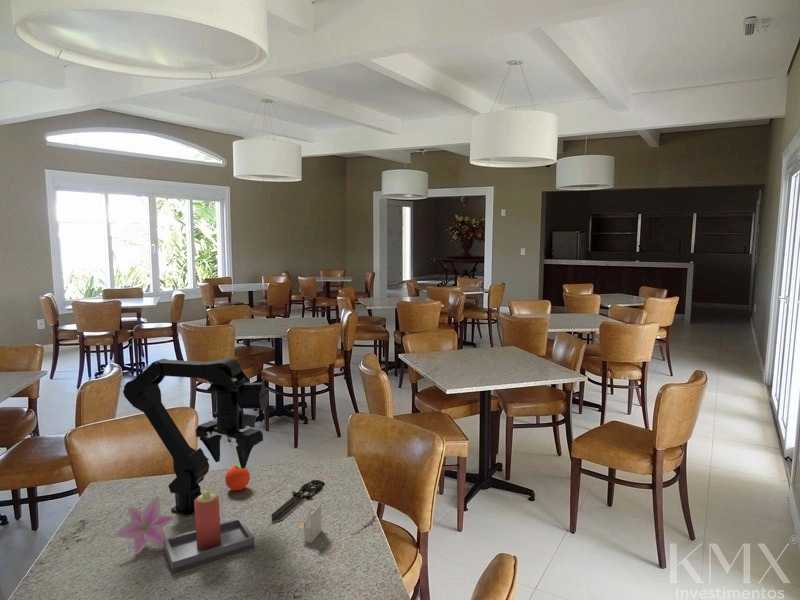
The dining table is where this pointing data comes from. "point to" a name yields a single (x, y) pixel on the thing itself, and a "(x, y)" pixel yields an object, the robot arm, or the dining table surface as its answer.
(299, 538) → the dining table surface
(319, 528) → the architectural model
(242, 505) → the dining table surface
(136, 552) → the lily
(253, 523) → the dining table surface
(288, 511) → the knife
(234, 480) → the clementine
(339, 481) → the dining table surface
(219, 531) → the pepper mill
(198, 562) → the tray
